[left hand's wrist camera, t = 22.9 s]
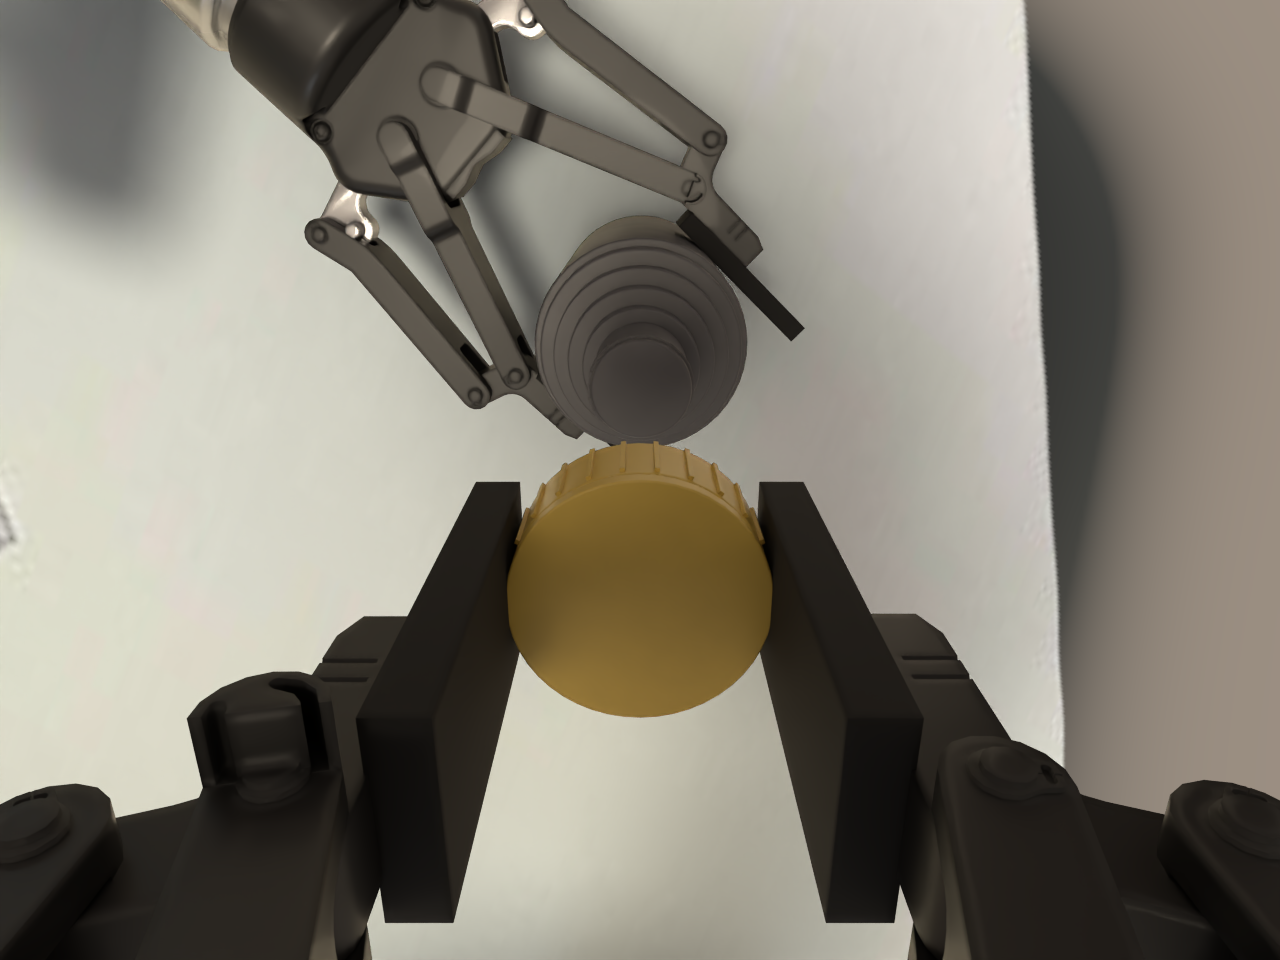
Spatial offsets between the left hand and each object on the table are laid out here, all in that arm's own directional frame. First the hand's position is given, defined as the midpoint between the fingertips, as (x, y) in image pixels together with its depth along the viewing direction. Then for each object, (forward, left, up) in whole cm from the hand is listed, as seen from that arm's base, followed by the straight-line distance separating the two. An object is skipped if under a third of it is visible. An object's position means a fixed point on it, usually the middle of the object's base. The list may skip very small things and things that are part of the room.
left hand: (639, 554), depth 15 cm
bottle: (0, 0, -29) cm, 29 cm away
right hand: (-4, -3, -22) cm, 23 cm away
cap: (0, 0, +2) cm, 2 cm away
